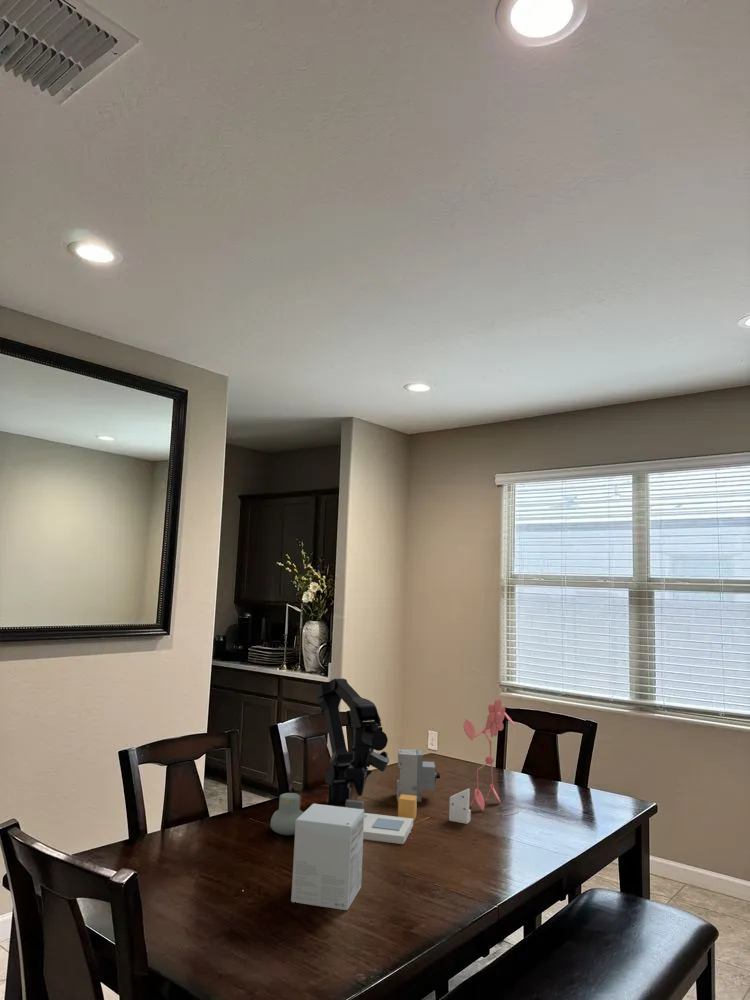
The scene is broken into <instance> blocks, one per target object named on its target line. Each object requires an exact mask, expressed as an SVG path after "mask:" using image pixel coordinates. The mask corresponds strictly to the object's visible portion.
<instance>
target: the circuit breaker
mask: <svg viewBox="0 0 750 1000" xmlns="http://www.w3.org/2000/svg"><path fill="white" fill-rule="evenodd" d="M423 759H424V757H423V750H422V749H406V748H405V749H400V748H398V752H397V768H400V769H399V779H397V780H396V801H397V802H398V799H399V797H400V796H401V794H403V795H413V796H417V803H418V802H419V803H422V793H423V792H422V791H433V792H434V791H436V781H437V779H441V774H440V772H437V769H436V765H435V761H425V760H423Z"/></svg>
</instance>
